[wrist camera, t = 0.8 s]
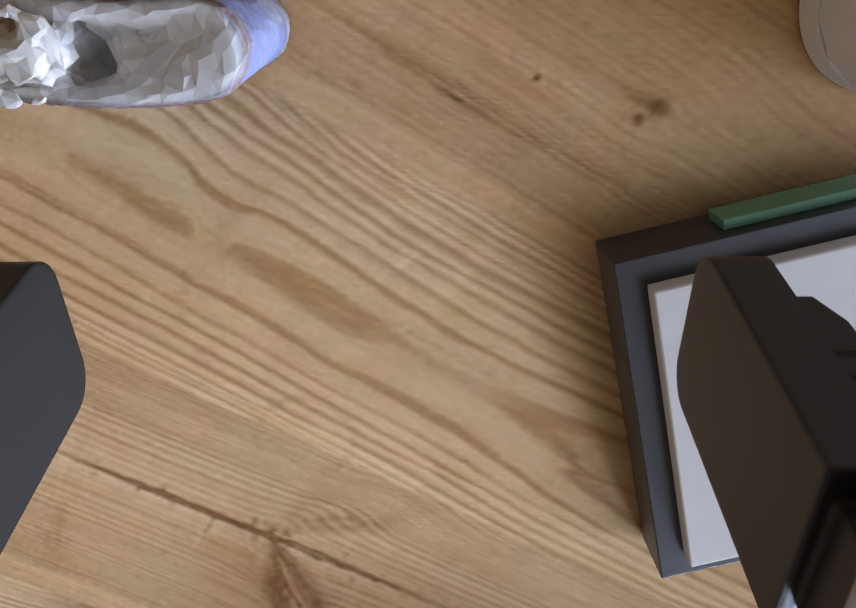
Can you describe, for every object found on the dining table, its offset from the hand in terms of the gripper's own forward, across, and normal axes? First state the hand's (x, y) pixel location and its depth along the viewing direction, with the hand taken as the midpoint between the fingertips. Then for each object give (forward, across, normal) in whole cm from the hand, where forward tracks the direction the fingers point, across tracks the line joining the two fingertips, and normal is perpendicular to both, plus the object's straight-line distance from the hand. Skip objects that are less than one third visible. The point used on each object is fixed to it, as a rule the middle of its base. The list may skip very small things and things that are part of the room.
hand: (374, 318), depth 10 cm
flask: (+18, +8, +1) cm, 20 cm away
